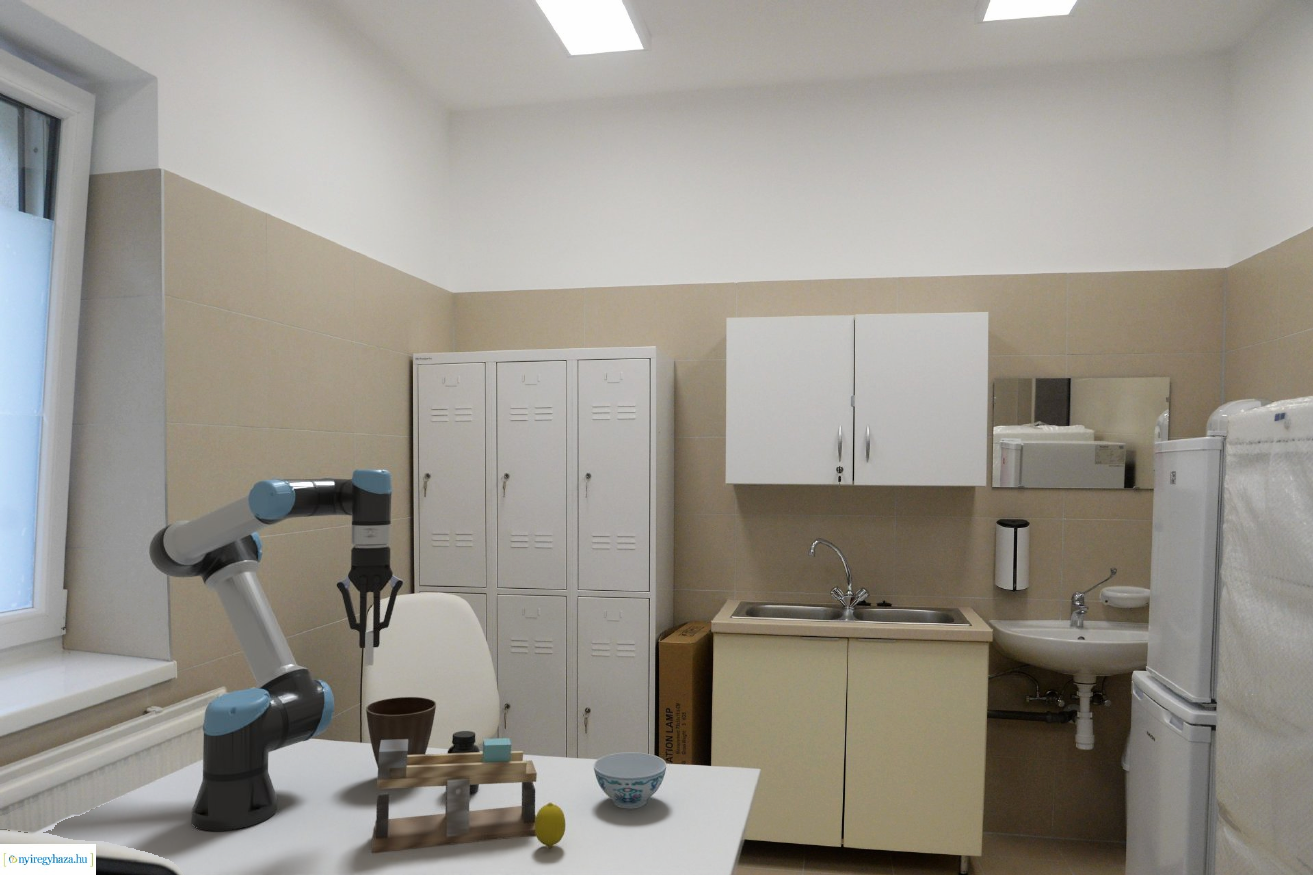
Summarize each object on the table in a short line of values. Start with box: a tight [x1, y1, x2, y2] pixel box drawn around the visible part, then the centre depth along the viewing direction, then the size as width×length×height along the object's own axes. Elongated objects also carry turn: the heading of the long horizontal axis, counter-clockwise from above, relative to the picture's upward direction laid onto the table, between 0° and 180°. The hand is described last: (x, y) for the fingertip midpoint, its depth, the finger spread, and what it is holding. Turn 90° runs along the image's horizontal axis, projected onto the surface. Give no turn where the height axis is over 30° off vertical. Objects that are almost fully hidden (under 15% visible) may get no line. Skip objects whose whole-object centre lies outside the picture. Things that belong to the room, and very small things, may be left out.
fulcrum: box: [371, 778, 537, 854], centre depth 163 cm, size 30×12×11 cm, turn 105°
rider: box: [482, 737, 512, 763], centre depth 165 cm, size 5×4×5 cm
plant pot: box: [365, 696, 437, 768], centre depth 190 cm, size 15×15×16 cm
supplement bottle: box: [446, 730, 480, 796], centre depth 183 cm, size 7×7×12 cm
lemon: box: [535, 802, 566, 849], centre depth 155 cm, size 6×6×8 cm
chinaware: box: [593, 751, 667, 809], centre depth 177 cm, size 15×15×8 cm
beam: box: [376, 739, 538, 790], centre depth 163 cm, size 29×7×7 cm, turn 105°
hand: (369, 663), depth 172 cm, fingers closed
